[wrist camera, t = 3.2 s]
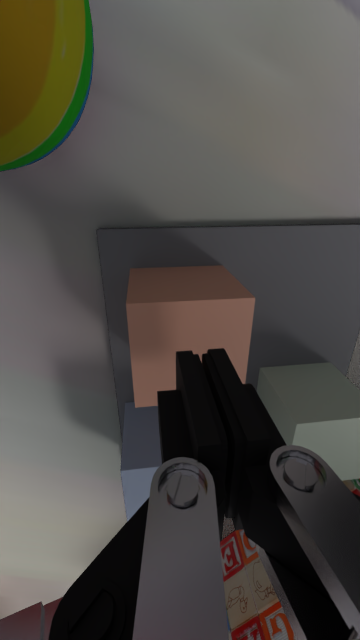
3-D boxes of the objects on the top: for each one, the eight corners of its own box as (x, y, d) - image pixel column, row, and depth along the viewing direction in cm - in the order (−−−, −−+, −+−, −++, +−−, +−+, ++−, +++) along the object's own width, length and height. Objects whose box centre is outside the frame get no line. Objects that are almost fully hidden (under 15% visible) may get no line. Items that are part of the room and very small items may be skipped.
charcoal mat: (385, 223, 16) (391, 223, 16) (322, 439, 24) (325, 443, 23) (97, 228, 14) (96, 229, 14) (125, 461, 22) (125, 466, 21)
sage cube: (330, 362, 20) (386, 415, 15) (315, 417, 22) (361, 478, 17) (260, 367, 19) (296, 424, 15) (251, 424, 21) (281, 488, 17)
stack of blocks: (213, 587, 32) (250, 797, 21) (171, 574, 30) (189, 803, 19) (369, 478, 27) (527, 682, 16) (333, 452, 25) (489, 669, 14)
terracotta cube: (222, 265, 16) (255, 297, 11) (217, 344, 18) (243, 398, 13) (130, 268, 15) (125, 303, 11) (136, 349, 17) (135, 407, 13)
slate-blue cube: (199, 396, 19) (217, 460, 15) (198, 448, 22) (213, 518, 17) (125, 402, 19) (120, 470, 14) (130, 455, 21) (128, 529, 17)
